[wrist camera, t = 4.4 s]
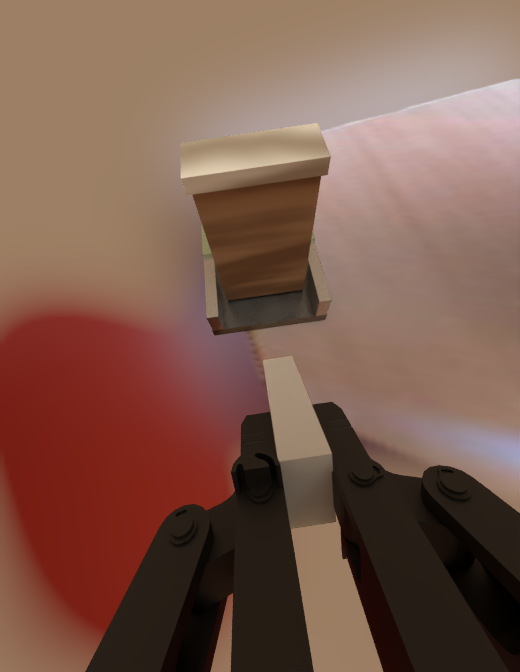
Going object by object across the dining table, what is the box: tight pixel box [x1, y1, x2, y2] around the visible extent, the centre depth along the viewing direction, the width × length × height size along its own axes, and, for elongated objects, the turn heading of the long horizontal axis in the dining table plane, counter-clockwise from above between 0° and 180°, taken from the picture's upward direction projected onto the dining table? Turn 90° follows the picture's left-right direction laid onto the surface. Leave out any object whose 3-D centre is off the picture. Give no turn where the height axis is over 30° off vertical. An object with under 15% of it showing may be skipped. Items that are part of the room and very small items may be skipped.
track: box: [201, 223, 331, 335], centre depth 31 cm, size 19×13×7 cm
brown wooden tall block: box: [181, 123, 331, 301], centre depth 24 cm, size 4×10×15 cm, turn 98°
